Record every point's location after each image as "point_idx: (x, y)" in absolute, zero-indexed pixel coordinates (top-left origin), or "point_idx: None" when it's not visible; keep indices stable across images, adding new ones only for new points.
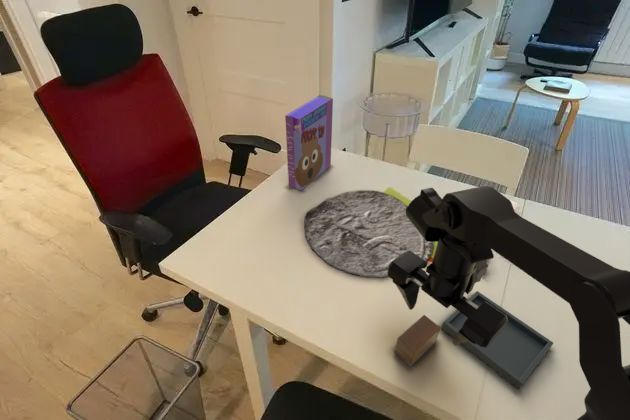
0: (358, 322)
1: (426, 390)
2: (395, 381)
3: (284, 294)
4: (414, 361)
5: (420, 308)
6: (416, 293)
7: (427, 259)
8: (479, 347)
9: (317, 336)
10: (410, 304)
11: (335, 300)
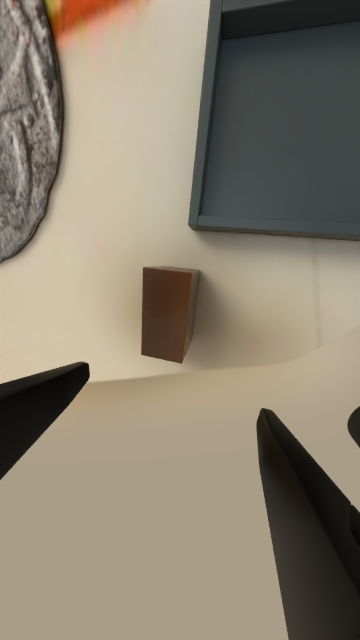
0: (93, 326)
1: (230, 358)
2: (187, 371)
3: (12, 352)
4: (191, 335)
5: (137, 218)
6: (7, 411)
7: (49, 38)
8: (290, 223)
9: None
10: (57, 413)
11: (48, 316)
